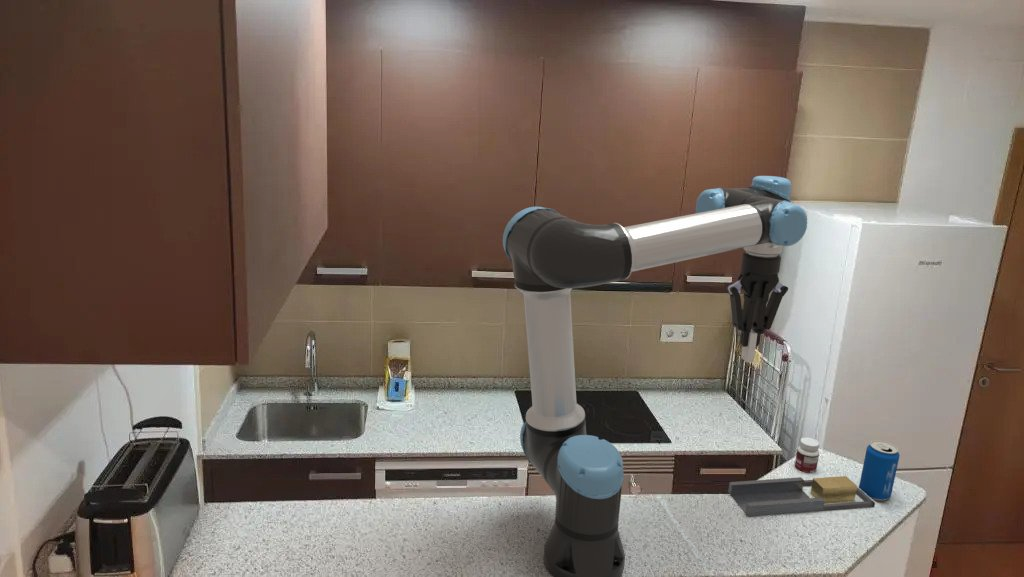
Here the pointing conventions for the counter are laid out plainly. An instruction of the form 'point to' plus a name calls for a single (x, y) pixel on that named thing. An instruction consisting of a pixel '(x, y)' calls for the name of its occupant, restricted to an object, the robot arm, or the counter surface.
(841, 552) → the counter surface
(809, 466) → the pill bottle
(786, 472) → the counter surface
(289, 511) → the counter surface
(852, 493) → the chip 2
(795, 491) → the slot rail
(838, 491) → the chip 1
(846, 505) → the tray
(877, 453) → the beverage can
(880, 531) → the counter surface
